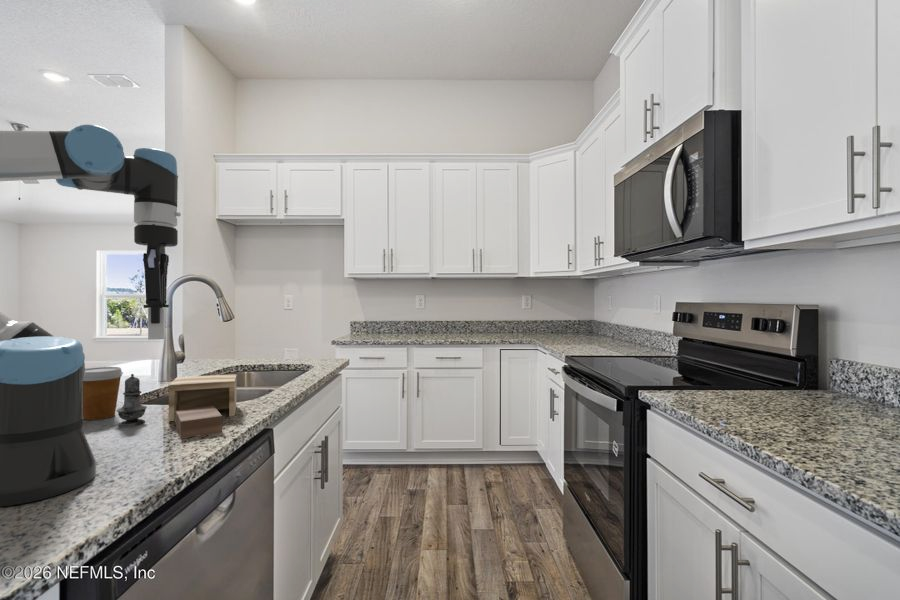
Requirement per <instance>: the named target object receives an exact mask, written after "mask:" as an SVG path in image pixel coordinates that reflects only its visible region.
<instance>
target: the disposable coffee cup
mask: <svg viewBox="0 0 900 600" xmlns="http://www.w3.org/2000/svg"><path fill="white" fill-rule="evenodd" d="M123 374H124V372H123V371H122V368H121V367H120V366H101V367H100V366H99V367H91V368H90V367H89V368H85V372H84V376H83V420H84V419H86V420H85V421H97V419H98V420H103V419H108V418H111V417H114V416H115V414H116V411H117V409H116V408H117V403H118V396H119V389H120V384H121V378H122V376H123Z"/></svg>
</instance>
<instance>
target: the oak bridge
mask: <svg viewBox="0 0 900 600" xmlns="http://www.w3.org/2000/svg"><path fill="white" fill-rule="evenodd" d="M237 379H238V377H237V373H236V374H235V373H233V374H232V373H231V374H230V373H229V374H216V375H215V374H213V375H197V376H196V375H195V376H181V377H180V376H179V377H178V376H176V377H175V379H173V380H172V382H171V383H170V384H168V423H171V422H170V421H174V422H175V410H180V409H188V408H196V407H204V406H212V405H213V406H214V407H215V408H216V409H217V410H218V411H219V410H229V411H228V417H229V418H230V417H235V416H236V415H235V414H236V410H237V389H238V387H237V384H238V383H237V382H238V380H237Z"/></svg>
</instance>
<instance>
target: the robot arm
mask: <svg viewBox="0 0 900 600" xmlns="http://www.w3.org/2000/svg"><path fill="white" fill-rule="evenodd" d="M177 162H178V161H177V159H176V157H175V156H174V154H172V153H170V152H169V151H165V150H163V149H159V148H158V149H157V148H152V147H151V148H148V147H139V148H136V149H135V150H134V153H133V155H132V156H130V155H129V156H127V155H125V152H124V147H123V145H122V143H121V140H120V139H119V138H118V137H117V136H116V135H115V134H114V133H113V132H112V131H110V130H108V129H107V128H106V127H103V126H100V125H96V124H82V125H81V124H80V125H79V126H75V127H74V128H72V129H71V130H49V131H48V130H0V182H12V181H13V182H14V181H15V182H16V181H34V180H35V181H37V180H38V181H39V180H55V182H56V183H57V184H58V185H59V186H62V187H67V188H73V189H77V190H79V191H80V190H87V191H95V192H106V193H114V194H121V195H122V194H123V195H130V196H133V197H134V199H133V202H134V203H133V222H134V223H135V224H137V225H135V226H134V228H133V230H134V232H133V233H134V234H133V235H134V236H133V239H134V240H133V242H134V243H135V244H136V245H140V246H146V252H144V253H143V256H142V257H143V258H142V261H143V267H144V283H145V284H144V286H145V304H143V309H147V333H148V334H147V339H148V341H151V340H165V338H166V336H165V333H166V329H165V327H166V325H165V323H166V313H165V312H166V308H169V307H170V304H167V302H168V301H167V289H168V288H167V286H168V268H169V264H170V263H169V262H170V257H169V254H167V253H166V247H177V245H178V243H179V242H178V241H179V240H178V239H179V237H178V234H179V233H178V230H177V228H176V226H178V217H181V215H182V214H181V212H180V211H178V189H179V188H178V183H179V182H178V178H179V175H178V164H177ZM85 359H86V357H85V353H84V348H83V344H82V342H80V341H79V340H78V339H75V338H71V337H65V336H54V335H53V334H51V333H49V332H48V331H46V330H45V329H44V328H42V327H41V326H39V325H38V324H36V323H35V322H34V321H32V320H24V321H23V320H22V321H16V320H13V319H12V318H9V317H8V316H7V315H5V314H3V313H2V312H1V311H0V508H1V507H8V506H9V507H10V506H16V505H23V504H27V503H28V504H29V503H32V502H37V501H42V500H44V499H48V498H52V497H55V496H58V495H62V494H64V493H67V492H70V491H72V490H75V489H78V488H80V487H82V486H85V484H87V483H89V482H90V481H92V480H93V479H94V478H95V477H96V475H97V471H96V470H97V462H96V459H95V456H94V454H93V451H92V449H91V446H90V445H89V442H88V439H87V438H86V435H85V433H84V430H83V427H84V426H83V424H84V423H83V422H84V421H83V420H84V419H83V376H84V372H85V369H86V364H85Z"/></svg>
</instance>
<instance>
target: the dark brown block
mask: <svg viewBox="0 0 900 600" xmlns="http://www.w3.org/2000/svg"><path fill="white" fill-rule="evenodd" d="M174 422H175V423H174V424H175V425H176V426H175V425H174V426H175V427H176V431H177V430H178V431H177V433H178V436H179V438H180V439H186V438H193V437H192V436H194V437H198V435H200V436H205V435H204V434H206V435H210V434H211V435H212V434H218V433H222V432H223V415H222V414H221V413H220V412H219V409H218V410H217V409H216V408H215V407H214V406H213V405H212V406H204V407H196V408H188V409H180V410H175V421H174Z"/></svg>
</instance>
